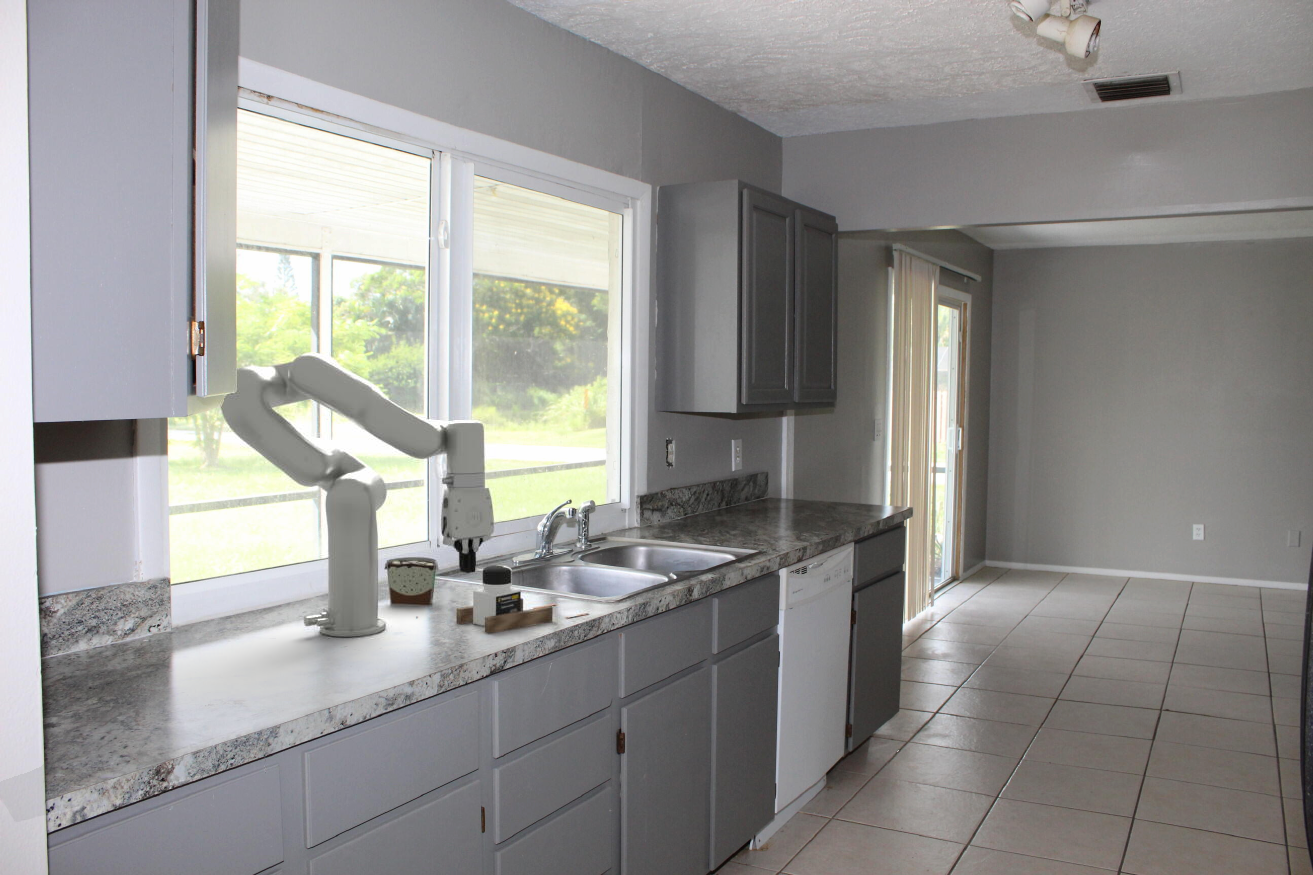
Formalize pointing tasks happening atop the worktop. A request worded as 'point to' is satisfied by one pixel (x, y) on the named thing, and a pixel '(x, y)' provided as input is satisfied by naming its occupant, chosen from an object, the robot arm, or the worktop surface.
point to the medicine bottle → (495, 594)
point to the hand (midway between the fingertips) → (467, 571)
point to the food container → (411, 580)
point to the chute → (508, 618)
